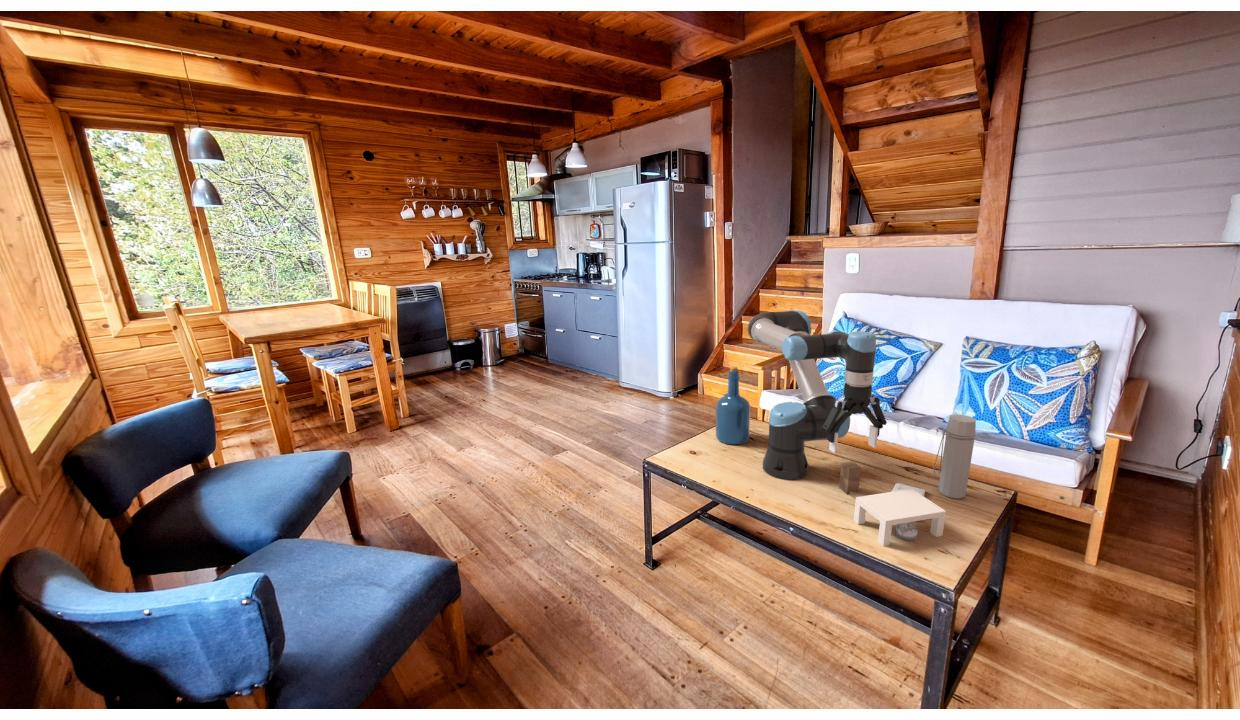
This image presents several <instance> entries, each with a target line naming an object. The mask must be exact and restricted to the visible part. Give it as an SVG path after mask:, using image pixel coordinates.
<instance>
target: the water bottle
mask: <svg viewBox="0 0 1240 720" xmlns="http://www.w3.org/2000/svg"><path fill="white" fill-rule="evenodd" d="M976 422H977V421H976V418H974V417H972V416H969V415H967V414H959V413H957V414H951V415H949V417H948V421H947V423H946V429H942V433H941V434H942V436H941V440H940V443H939V447H938V451H937V454H936V457H935V461H934V463H933V475H935V476H939V481H938V482H939V483H938V492H939V493H940V494H942V495H943V496H945V497H947V498H951V499H963V498H964V497H966V495H967V490H968V489H967V488H968V483H969V475H970V470H971V462H972V457H973V450H974V446H975V445H974V443H975V438H976V424H977V423H976ZM940 449H941V453H940ZM939 454H940V461H939V470H938V471H939V472H938V473H936V469H935V468H936V463H937V461H938V457H939Z"/></svg>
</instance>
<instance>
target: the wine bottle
mask: <svg viewBox="0 0 1240 720" xmlns="http://www.w3.org/2000/svg"><path fill="white" fill-rule="evenodd" d="M727 375H728V377H727V379H728V381H727V393H725V394H724V395H723V396H722V397H720V398H719V399H718V401H717V402H716V404H715V437H716V439H717V440H718V441H719V442H721V443H722V444H723V443H724V444H728V445H743V444H745V443H747V442H748V441H749V439H750V426H751V404H750V402H749V400H748V399H746V398H745V397H743V396H742V395H740V371H739V370H738V367H737V366H731V367H730V368H729V370H728V374H727Z"/></svg>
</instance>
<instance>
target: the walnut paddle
mask: <svg viewBox="0 0 1240 720" xmlns="http://www.w3.org/2000/svg"><path fill="white" fill-rule="evenodd" d="M861 469H862V468H861V466H860V465H859V464H857V463H856V462H854V461H853V460H851V461H844V462H841V463H840V474H839V484H838V486H839V487H838V489H839V490H841V491H842V492H844V493H845V494H846V495H849V496H850V497H852V498H853V499H854V500H855V501H856V497H861V496H866V495H865V494H864V493H863V492H861V491H860V489H859V487H860V482H861V481H860V479H861Z"/></svg>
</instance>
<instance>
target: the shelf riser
mask: <svg viewBox="0 0 1240 720" xmlns="http://www.w3.org/2000/svg"><path fill="white" fill-rule="evenodd" d="M866 512H867V513H869V514H870V515H871V516H872V517H873V518H875V519H876V520H877V521H878V522H879V529H878V538H877V543H879V544H880V545H881V546H882V547H886V546H890V545H891V538H892V529H893V525H894V526H895V525H897V524H901V523H913V522H919V521H924V520H930V519H931V524H930V531H929V532H930V534H931V535H933V537H936V538H938V537H943V534H944V528H945V521H946V516H947V515H946V514H947V511H946V510H945V509H943V508H942V507H941V506H939V505H937V504H936V503H934V502H933V501H931V500H929V499H928V498H927V497H925V495H924V496H922V495H920V494H919V493H917V492H916V491H914V490H913V489H907V490H901V491H894V492H892V491H889V492H888V491H887V492H882V493H876V494H875V493H874V494H870V495H869V494H868V495H865V496H861V497H856V500H855V502H854V515H853V522H855V523H856V524H857V525H864V524H866V523H865V521H866Z"/></svg>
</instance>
